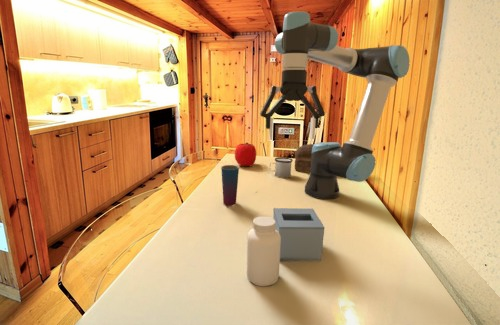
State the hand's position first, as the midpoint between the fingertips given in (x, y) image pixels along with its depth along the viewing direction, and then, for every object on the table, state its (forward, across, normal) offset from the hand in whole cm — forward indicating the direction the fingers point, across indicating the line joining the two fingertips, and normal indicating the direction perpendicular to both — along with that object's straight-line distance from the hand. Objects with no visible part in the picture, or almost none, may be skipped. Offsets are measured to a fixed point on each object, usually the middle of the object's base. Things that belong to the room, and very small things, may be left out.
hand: (291, 138), depth 92 cm
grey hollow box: (+29, +2, +17) cm, 34 cm away
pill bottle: (+29, +13, +29) cm, 43 cm away
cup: (+29, +20, -17) cm, 39 cm away
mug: (+31, -8, -54) cm, 63 cm away
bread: (+32, -34, -63) cm, 78 cm away
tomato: (+31, +9, -75) cm, 82 cm away
